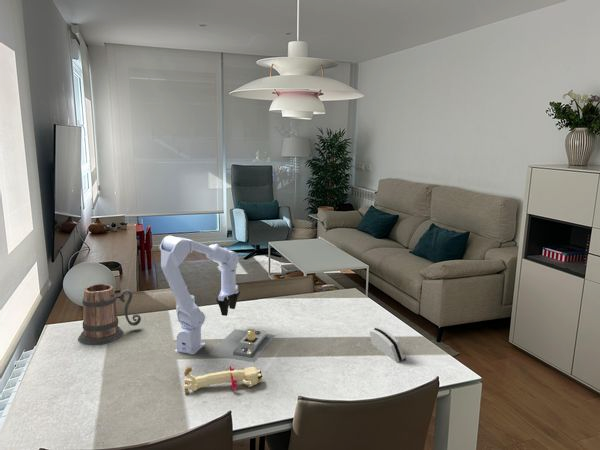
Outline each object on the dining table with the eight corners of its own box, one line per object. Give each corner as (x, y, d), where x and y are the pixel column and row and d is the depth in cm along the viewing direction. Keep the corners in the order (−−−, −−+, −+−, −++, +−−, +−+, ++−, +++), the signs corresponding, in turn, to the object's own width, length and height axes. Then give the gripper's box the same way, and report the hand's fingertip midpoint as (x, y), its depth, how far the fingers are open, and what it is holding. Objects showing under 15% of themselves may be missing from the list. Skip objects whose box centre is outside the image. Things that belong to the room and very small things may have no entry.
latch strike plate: (250, 357, 163) (250, 350, 163) (233, 354, 165) (233, 347, 164) (267, 337, 180) (267, 330, 180) (251, 334, 182) (251, 328, 182)
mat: (254, 363, 160) (254, 362, 160) (208, 355, 164) (208, 354, 164) (275, 336, 183) (275, 335, 182) (234, 330, 187) (234, 329, 187)
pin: (253, 347, 171) (253, 332, 170) (246, 346, 172) (246, 331, 170) (256, 344, 174) (256, 329, 173) (248, 343, 174) (249, 328, 173)
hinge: (408, 360, 166) (402, 337, 162) (397, 366, 164) (391, 343, 161) (382, 341, 181) (376, 320, 178) (372, 347, 179) (366, 326, 176)
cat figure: (185, 402, 137) (266, 388, 143) (182, 376, 136) (264, 363, 141) (185, 385, 147) (261, 372, 152) (183, 360, 145) (259, 349, 151)
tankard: (79, 349, 167) (76, 297, 163) (76, 331, 181) (73, 284, 177) (145, 337, 178) (143, 288, 175) (137, 321, 193) (135, 277, 189)
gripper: (230, 286, 172) (230, 319, 174) (244, 275, 185) (244, 307, 188) (213, 284, 173) (213, 317, 176) (229, 273, 187) (228, 304, 190)
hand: (228, 311), depth 182 cm, fingers open, 7 cm apart
